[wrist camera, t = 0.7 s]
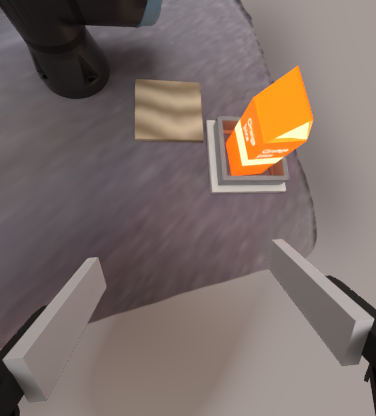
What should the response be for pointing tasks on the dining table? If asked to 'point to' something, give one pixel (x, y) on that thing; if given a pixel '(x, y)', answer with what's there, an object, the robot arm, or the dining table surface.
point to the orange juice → (270, 126)
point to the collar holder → (238, 183)
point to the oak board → (168, 111)
